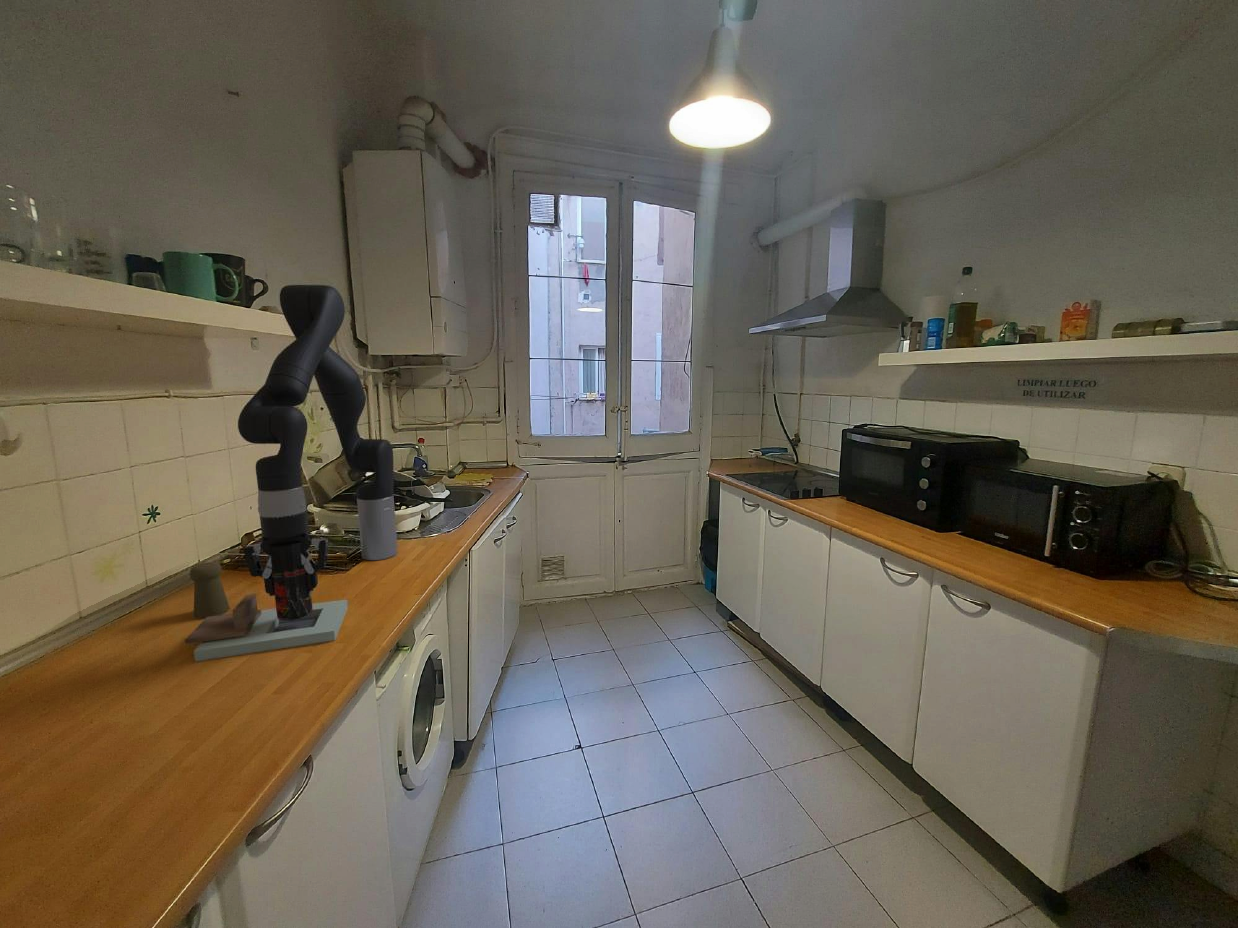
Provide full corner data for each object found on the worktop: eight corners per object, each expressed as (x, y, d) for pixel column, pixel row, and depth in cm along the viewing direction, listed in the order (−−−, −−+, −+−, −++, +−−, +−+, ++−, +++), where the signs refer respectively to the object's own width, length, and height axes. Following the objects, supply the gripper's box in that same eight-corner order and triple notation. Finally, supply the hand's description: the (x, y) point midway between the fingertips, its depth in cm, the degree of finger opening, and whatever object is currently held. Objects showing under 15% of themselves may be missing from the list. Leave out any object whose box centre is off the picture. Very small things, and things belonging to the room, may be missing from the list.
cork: (214, 619, 101) (206, 569, 99) (185, 618, 101) (177, 569, 99) (237, 606, 107) (230, 558, 105) (210, 605, 107) (203, 558, 105)
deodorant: (316, 613, 97) (309, 541, 95) (281, 623, 93) (272, 549, 90) (307, 603, 101) (300, 534, 99) (273, 613, 97) (264, 541, 94)
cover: (207, 620, 96) (204, 597, 95) (261, 613, 99) (258, 591, 98) (185, 643, 88) (181, 619, 87) (245, 635, 91) (241, 611, 90)
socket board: (226, 623, 100) (225, 614, 99) (347, 607, 107) (347, 599, 107) (195, 661, 87) (193, 651, 86) (335, 640, 94) (334, 630, 94)
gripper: (330, 502, 99) (337, 579, 102) (245, 508, 94) (256, 589, 97) (321, 512, 92) (330, 594, 95) (230, 518, 88) (242, 605, 91)
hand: (292, 591), depth 96 cm, fingers closed on deodorant, 6 cm apart
